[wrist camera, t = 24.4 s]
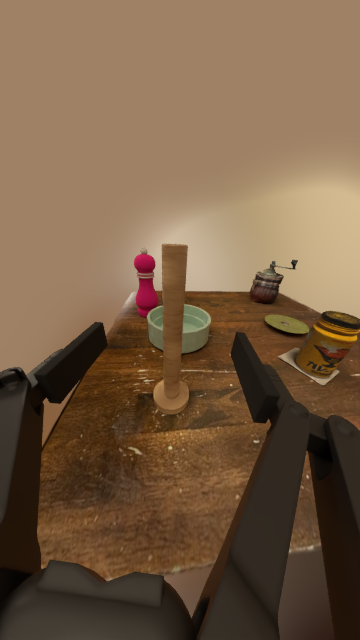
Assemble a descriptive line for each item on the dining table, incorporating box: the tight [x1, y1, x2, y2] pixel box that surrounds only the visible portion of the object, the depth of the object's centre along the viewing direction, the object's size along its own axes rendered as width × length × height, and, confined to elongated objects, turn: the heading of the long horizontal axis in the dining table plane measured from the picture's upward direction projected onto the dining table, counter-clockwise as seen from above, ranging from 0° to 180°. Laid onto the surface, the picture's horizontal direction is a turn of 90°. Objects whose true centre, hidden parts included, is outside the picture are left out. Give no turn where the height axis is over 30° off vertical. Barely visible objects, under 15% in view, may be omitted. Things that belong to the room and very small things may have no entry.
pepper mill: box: [134, 248, 159, 317], centre depth 46 cm, size 7×7×20 cm
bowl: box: [147, 304, 211, 354], centre depth 38 cm, size 15×15×6 cm
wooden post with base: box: [153, 244, 189, 415], centre depth 19 cm, size 6×6×22 cm
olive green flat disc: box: [265, 315, 309, 333], centre depth 45 cm, size 11×11×2 cm
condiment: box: [278, 311, 360, 385], centre depth 29 cm, size 7×8×12 cm
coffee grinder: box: [250, 260, 298, 303], centre depth 62 cm, size 13×15×18 cm
